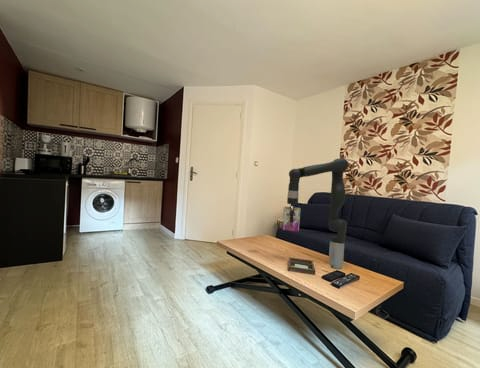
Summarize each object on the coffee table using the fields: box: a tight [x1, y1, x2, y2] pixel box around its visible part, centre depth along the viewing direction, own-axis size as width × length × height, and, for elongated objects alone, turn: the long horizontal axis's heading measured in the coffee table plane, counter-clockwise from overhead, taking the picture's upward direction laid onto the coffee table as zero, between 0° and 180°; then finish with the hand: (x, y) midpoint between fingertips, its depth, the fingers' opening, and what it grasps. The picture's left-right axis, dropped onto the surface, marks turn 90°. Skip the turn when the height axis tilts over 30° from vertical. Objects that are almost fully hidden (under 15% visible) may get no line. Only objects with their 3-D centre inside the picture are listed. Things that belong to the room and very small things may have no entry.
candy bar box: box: [281, 206, 301, 233], centre depth 160 cm, size 11×5×16 cm, turn 68°
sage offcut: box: [294, 264, 309, 269], centre depth 145 cm, size 6×8×2 cm
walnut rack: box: [287, 257, 316, 276], centre depth 149 cm, size 19×16×4 cm
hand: (291, 221), depth 160 cm, fingers closed on candy bar box, 5 cm apart
